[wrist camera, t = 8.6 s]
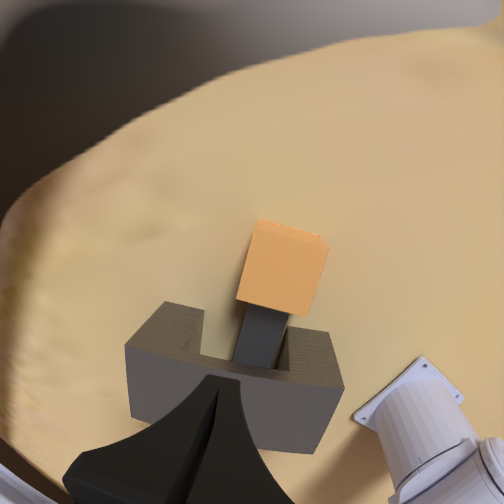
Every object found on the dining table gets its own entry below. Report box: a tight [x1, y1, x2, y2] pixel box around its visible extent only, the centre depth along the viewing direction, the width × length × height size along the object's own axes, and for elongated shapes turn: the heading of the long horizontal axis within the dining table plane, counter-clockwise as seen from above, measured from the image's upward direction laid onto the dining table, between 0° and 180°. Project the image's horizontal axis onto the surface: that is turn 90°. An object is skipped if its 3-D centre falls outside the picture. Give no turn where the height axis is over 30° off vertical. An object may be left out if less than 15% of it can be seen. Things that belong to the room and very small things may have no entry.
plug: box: [232, 219, 330, 368], centre depth 19 cm, size 16×4×4 cm, turn 165°
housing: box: [125, 301, 345, 454], centre depth 18 cm, size 6×12×6 cm, turn 80°
